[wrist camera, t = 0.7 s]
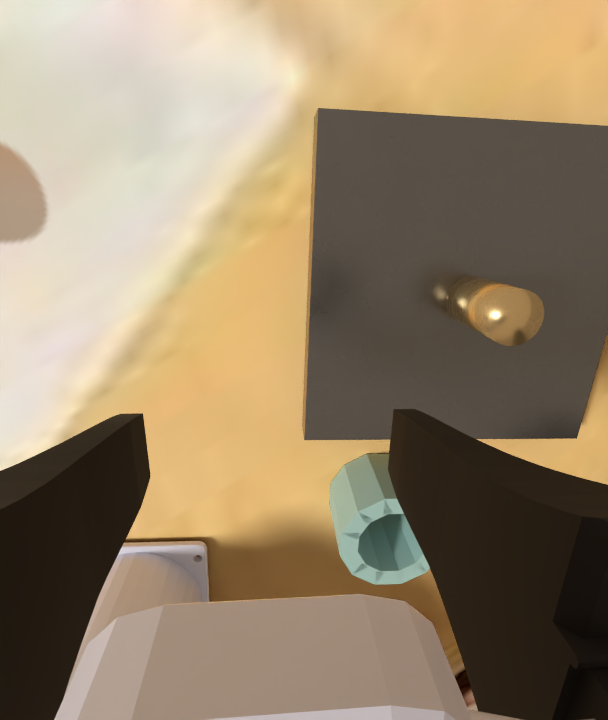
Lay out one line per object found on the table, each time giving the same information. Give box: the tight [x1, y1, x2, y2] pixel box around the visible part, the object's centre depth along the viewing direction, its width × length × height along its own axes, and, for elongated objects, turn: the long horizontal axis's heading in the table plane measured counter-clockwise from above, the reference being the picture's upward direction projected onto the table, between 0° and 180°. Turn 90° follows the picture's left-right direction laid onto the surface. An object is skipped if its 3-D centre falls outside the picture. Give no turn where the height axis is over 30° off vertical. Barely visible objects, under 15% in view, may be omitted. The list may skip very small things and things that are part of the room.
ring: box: [329, 454, 430, 585], centre depth 22 cm, size 5×5×4 cm
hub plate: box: [302, 108, 608, 440], centre depth 18 cm, size 15×15×6 cm
